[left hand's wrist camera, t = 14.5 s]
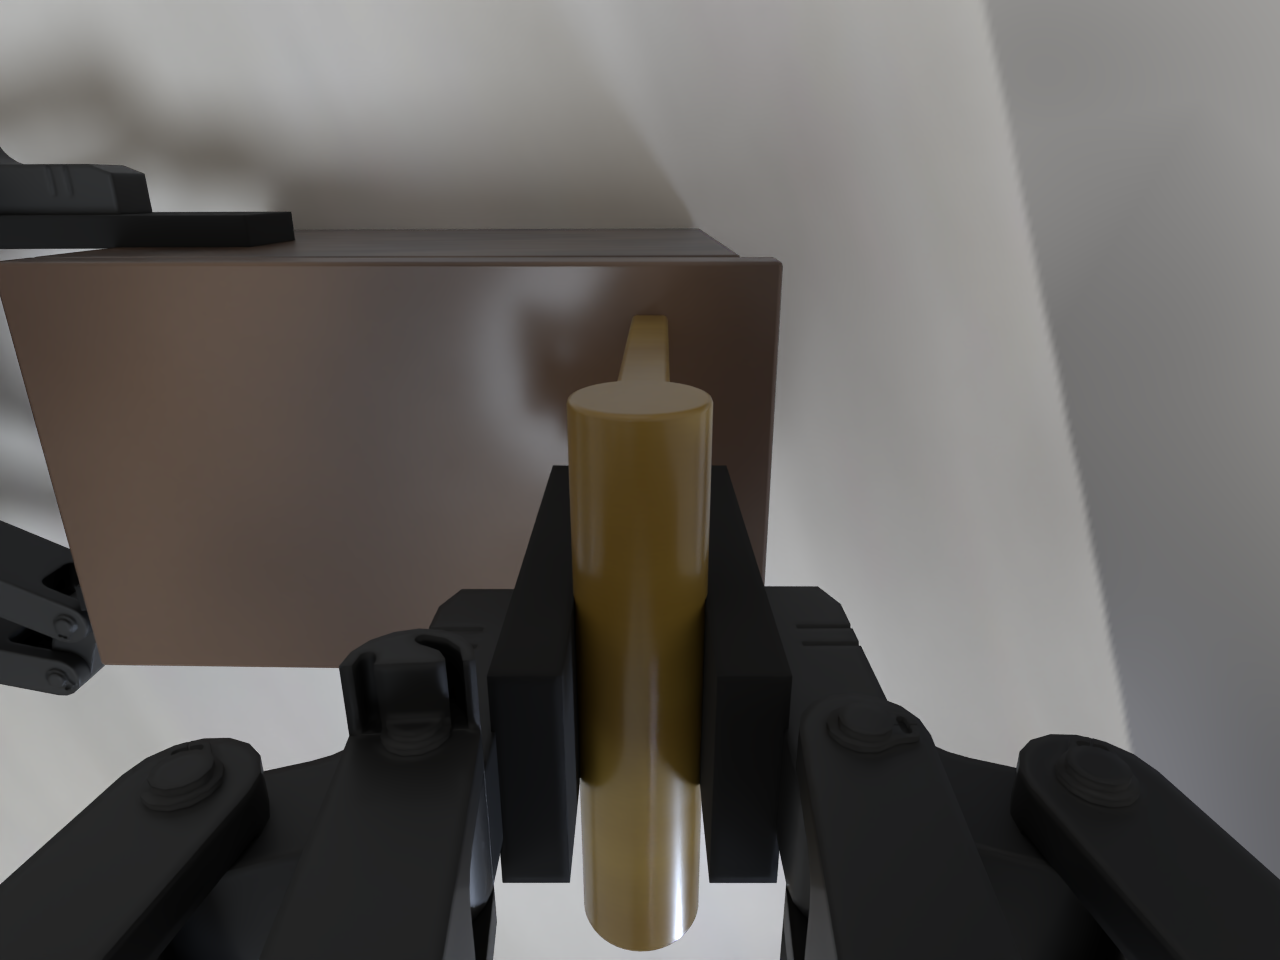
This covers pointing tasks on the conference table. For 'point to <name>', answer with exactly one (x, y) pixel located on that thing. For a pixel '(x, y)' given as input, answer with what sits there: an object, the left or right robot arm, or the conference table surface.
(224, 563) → the lid
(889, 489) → the conference table surface
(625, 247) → the chest
